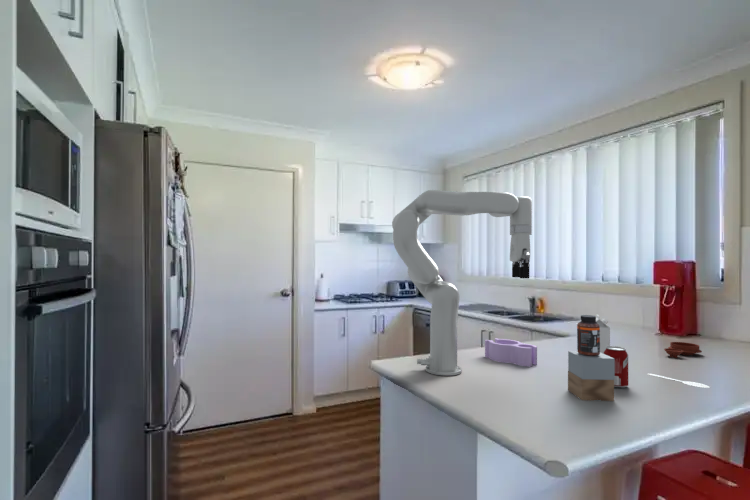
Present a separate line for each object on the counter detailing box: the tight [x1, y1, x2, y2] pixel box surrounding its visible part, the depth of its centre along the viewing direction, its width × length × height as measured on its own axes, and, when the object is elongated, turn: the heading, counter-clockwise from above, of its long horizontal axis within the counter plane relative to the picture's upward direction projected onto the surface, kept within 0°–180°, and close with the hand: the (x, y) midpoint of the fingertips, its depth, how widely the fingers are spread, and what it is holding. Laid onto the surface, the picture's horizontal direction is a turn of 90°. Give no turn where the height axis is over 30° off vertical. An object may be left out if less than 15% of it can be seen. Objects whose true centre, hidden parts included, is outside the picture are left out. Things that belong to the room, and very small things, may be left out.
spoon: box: [647, 372, 711, 389], centre depth 136 cm, size 5×18×1 cm, turn 31°
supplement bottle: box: [576, 314, 600, 356], centre depth 121 cm, size 6×6×11 cm
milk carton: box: [596, 314, 611, 354], centre depth 156 cm, size 7×7×19 cm
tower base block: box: [567, 370, 615, 402], centre depth 120 cm, size 9×9×6 cm
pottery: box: [664, 341, 703, 359], centre depth 175 cm, size 12×20×4 cm, turn 123°
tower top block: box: [567, 350, 615, 380], centre depth 120 cm, size 9×9×6 cm
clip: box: [484, 337, 538, 367], centre depth 162 cm, size 20×12×7 cm, turn 37°
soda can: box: [604, 345, 629, 389], centre depth 130 cm, size 7×7×12 cm
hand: (520, 277), depth 149 cm, fingers open, 9 cm apart
